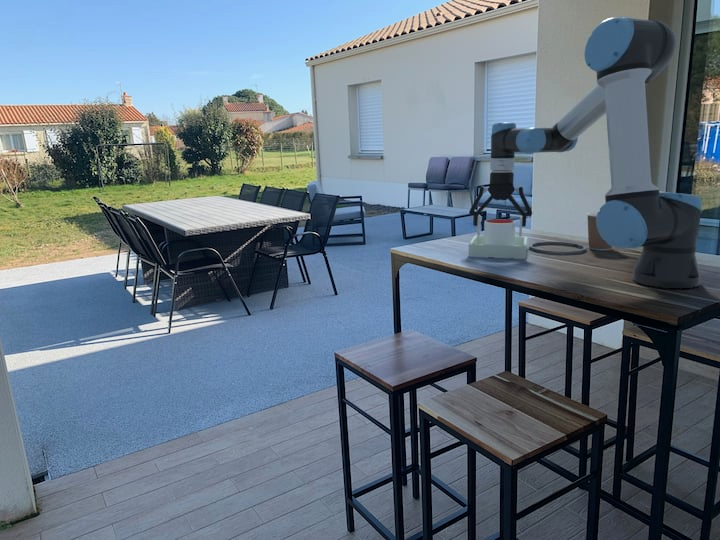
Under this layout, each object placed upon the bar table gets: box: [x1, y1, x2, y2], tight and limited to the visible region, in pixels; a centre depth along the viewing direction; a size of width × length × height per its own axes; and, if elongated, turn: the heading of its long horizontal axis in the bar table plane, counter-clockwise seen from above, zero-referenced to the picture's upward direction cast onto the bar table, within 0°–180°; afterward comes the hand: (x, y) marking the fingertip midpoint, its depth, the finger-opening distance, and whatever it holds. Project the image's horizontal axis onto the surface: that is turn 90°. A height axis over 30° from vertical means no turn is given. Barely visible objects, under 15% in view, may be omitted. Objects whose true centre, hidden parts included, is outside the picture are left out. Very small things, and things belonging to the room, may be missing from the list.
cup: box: [483, 218, 516, 245], centre depth 173 cm, size 10×10×10 cm
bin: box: [468, 234, 528, 260], centre depth 173 cm, size 18×18×4 cm
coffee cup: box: [586, 211, 613, 251], centre depth 175 cm, size 10×10×12 cm
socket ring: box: [528, 240, 588, 256], centre depth 177 cm, size 18×18×1 cm
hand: (499, 235), depth 173 cm, fingers open, 13 cm apart
